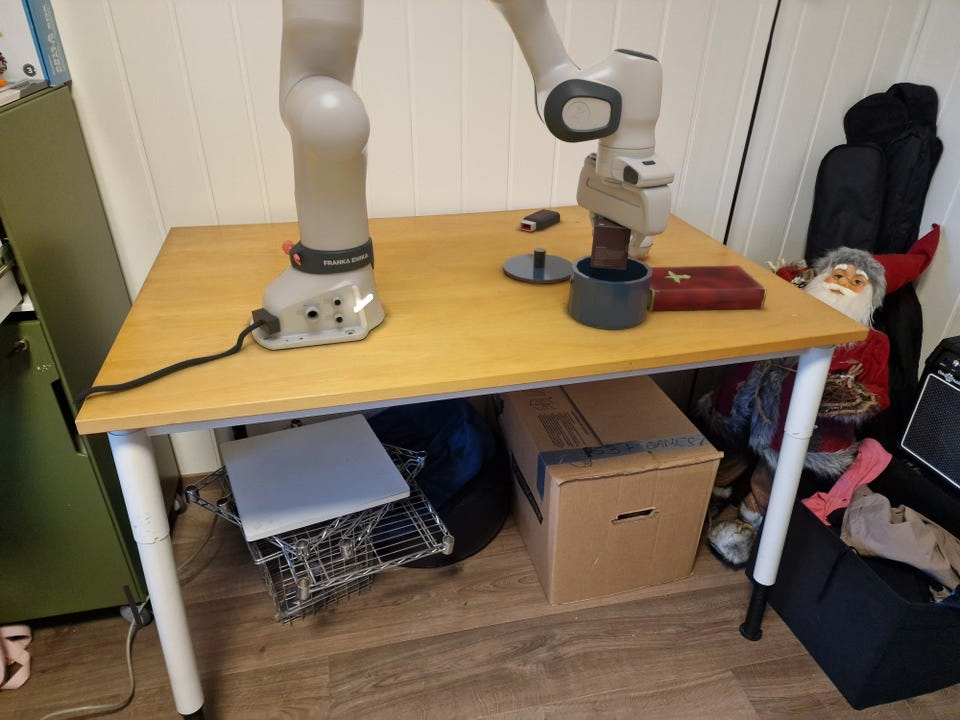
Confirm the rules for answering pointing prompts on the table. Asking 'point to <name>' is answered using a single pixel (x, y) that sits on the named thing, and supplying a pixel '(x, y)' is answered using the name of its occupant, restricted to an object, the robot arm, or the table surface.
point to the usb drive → (540, 220)
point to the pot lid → (538, 267)
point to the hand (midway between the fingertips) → (614, 245)
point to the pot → (609, 294)
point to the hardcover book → (704, 289)
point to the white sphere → (643, 247)
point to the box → (609, 244)
